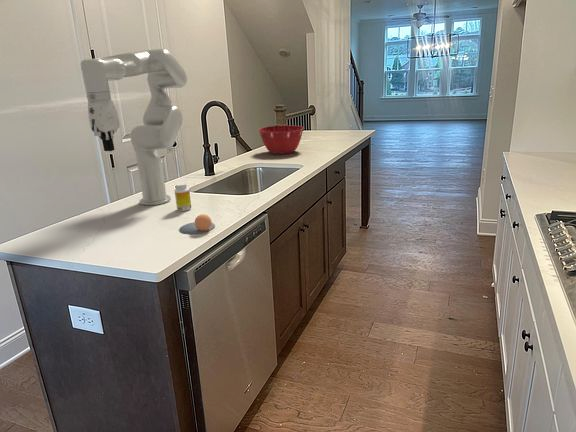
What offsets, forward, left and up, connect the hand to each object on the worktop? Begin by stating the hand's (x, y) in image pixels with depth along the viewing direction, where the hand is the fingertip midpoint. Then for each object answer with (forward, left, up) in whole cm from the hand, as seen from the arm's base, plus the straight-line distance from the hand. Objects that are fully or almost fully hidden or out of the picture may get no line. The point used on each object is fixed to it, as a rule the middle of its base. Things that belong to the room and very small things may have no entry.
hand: (109, 150), depth 156 cm
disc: (+15, +31, -26) cm, 43 cm away
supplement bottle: (-8, +22, -26) cm, 35 cm away
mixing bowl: (-122, +62, -26) cm, 139 cm away
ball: (+18, +33, -23) cm, 44 cm away
